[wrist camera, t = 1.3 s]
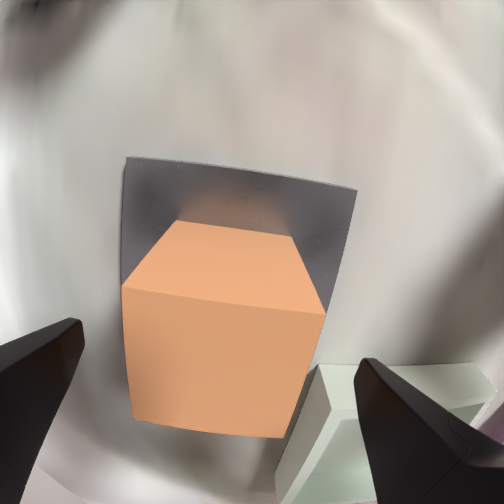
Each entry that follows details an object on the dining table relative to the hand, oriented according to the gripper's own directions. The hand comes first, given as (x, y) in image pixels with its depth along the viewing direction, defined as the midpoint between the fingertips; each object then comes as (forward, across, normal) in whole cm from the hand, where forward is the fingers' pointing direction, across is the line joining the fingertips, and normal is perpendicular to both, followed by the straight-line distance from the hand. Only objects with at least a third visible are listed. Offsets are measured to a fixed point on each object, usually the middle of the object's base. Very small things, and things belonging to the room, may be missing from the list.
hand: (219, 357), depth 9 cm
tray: (+6, -12, +11) cm, 17 cm away
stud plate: (+6, 0, 0) cm, 6 cm away
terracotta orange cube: (+6, 0, 0) cm, 6 cm away
